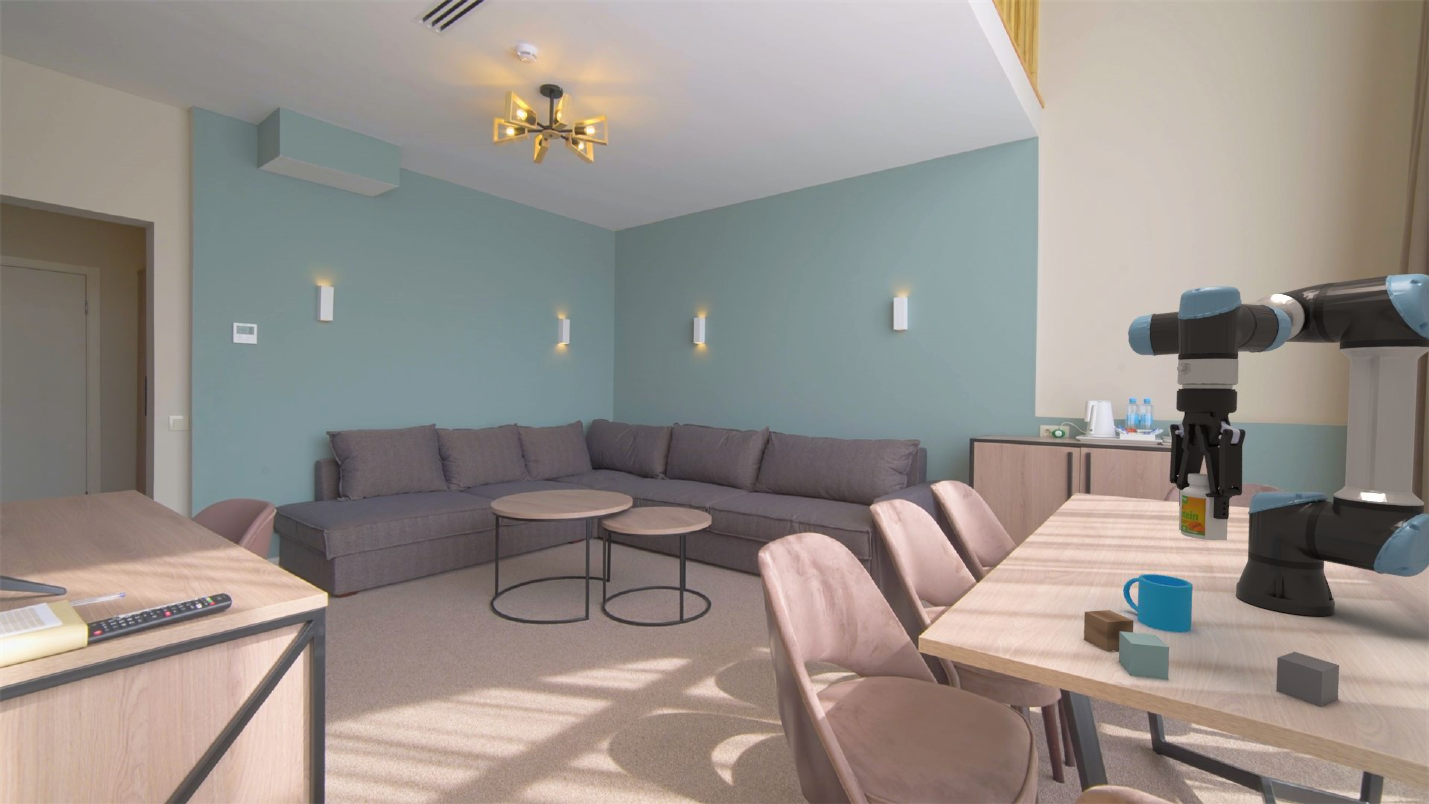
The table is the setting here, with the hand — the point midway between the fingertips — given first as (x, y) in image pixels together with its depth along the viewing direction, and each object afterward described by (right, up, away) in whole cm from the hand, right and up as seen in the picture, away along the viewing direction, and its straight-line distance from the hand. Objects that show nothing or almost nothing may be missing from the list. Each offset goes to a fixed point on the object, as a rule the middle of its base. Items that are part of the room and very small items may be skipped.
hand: (1202, 534), depth 100 cm
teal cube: (-11, -21, -2) cm, 23 cm away
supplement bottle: (0, -1, 0) cm, 1 cm away
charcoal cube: (+8, -21, -9) cm, 24 cm away
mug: (+6, -21, +20) cm, 29 cm away
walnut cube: (-10, -21, +8) cm, 24 cm away
